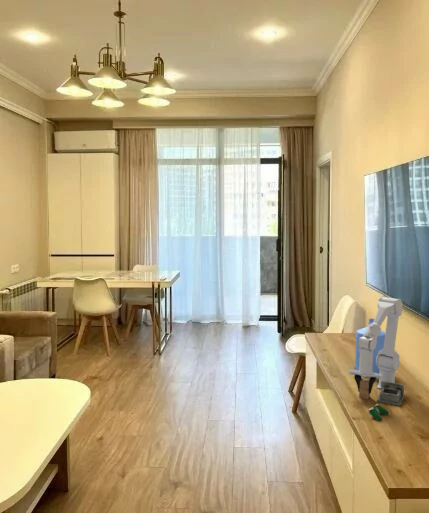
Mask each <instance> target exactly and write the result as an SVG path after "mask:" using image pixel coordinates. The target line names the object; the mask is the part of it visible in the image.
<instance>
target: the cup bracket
mask: <svg viewBox="0 0 429 513" xmlns="http://www.w3.org/2000/svg"><path fill="white" fill-rule="evenodd" d="M404 398H405V384H403V383H397V382H395V383H392V382H386V381H381V389H380V391H379V395H378V396H377V399H376V402H377V403H381V402H382V404H387V405H393V406H398V407H400V406H402V403H403V401H404Z"/></svg>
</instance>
